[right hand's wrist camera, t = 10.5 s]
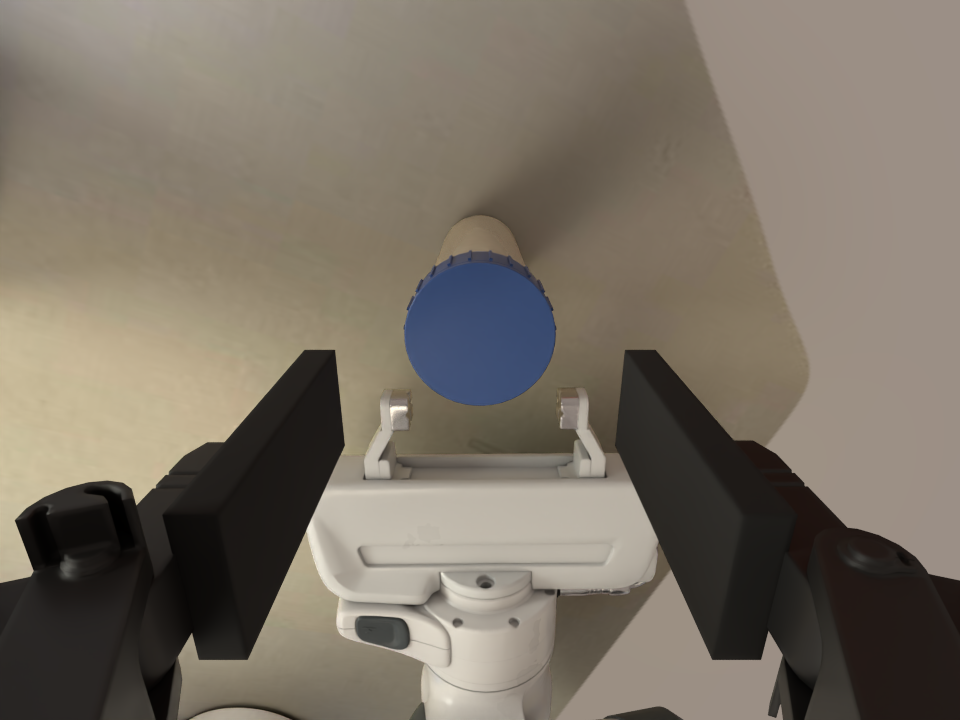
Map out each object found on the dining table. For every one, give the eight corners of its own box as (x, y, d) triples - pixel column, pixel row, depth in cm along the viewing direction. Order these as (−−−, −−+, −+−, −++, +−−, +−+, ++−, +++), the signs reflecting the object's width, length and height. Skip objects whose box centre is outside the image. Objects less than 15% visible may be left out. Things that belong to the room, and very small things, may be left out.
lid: (392, 358, 21) (383, 381, 19) (434, 227, 19) (429, 236, 17) (519, 400, 22) (523, 426, 20) (572, 277, 20) (582, 292, 18)
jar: (432, 276, 34) (397, 370, 19) (456, 203, 32) (437, 248, 18) (502, 300, 34) (517, 409, 20) (528, 230, 33) (566, 295, 18)
